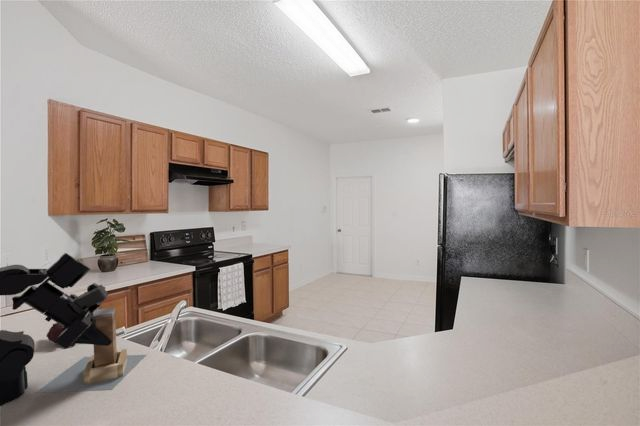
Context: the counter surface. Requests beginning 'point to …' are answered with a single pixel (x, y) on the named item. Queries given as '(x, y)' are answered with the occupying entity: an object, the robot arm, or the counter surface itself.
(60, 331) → the maroon bulbous piece
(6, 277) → the robot arm
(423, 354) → the counter surface
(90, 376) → the socket
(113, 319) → the post
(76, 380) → the board
